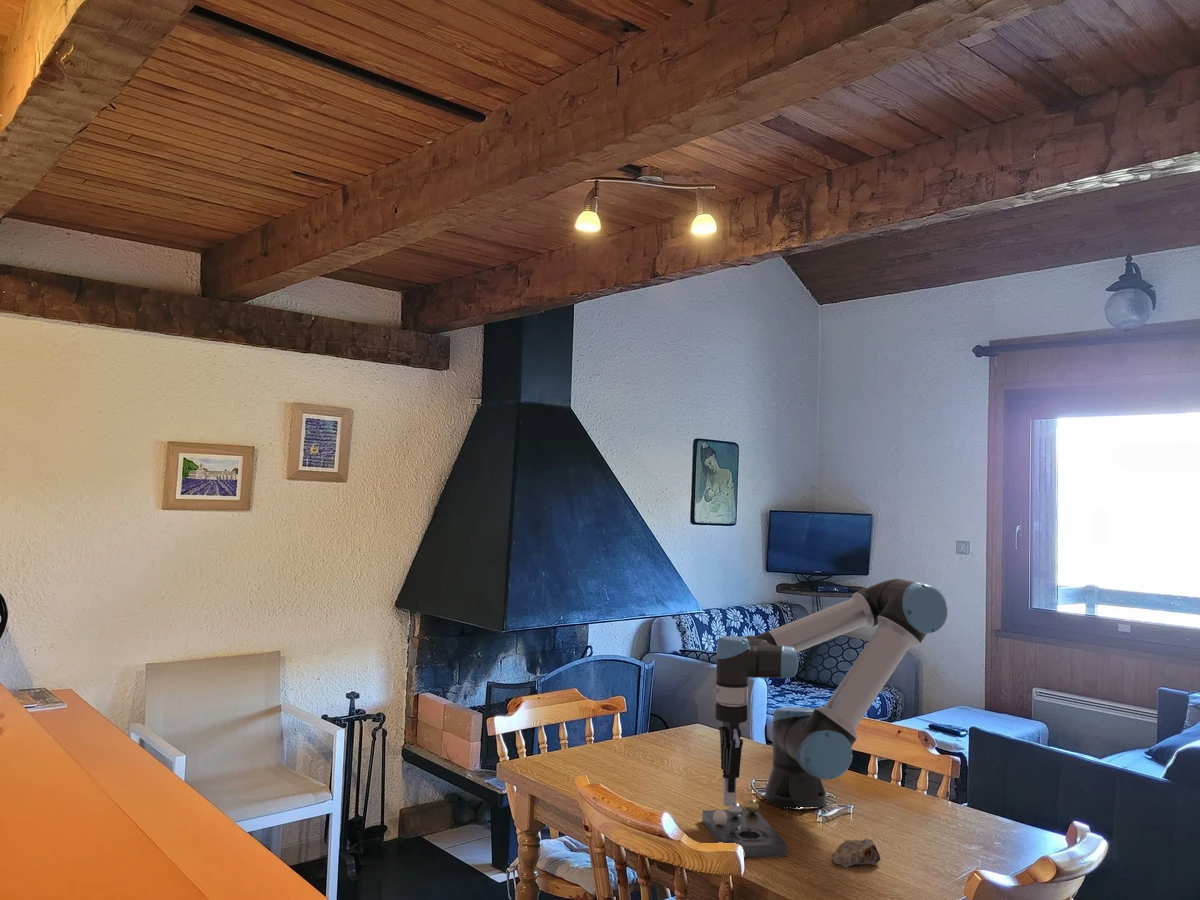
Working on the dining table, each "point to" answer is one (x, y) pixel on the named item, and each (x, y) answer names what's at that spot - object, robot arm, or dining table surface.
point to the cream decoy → (720, 817)
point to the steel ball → (735, 810)
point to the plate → (747, 834)
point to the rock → (856, 853)
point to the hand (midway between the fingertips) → (729, 804)
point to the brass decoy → (752, 806)
